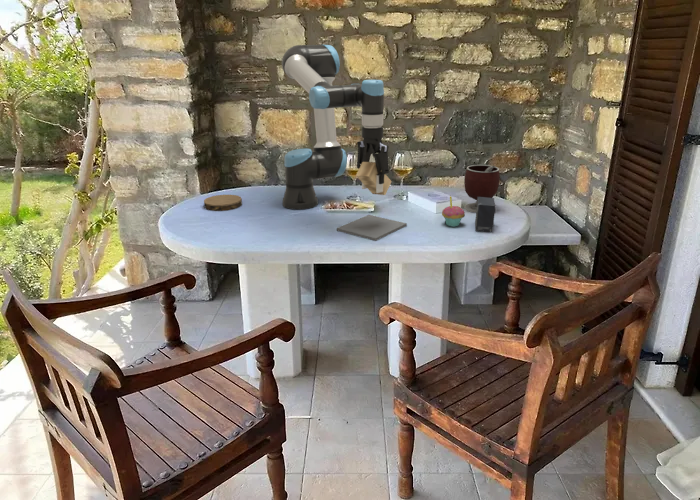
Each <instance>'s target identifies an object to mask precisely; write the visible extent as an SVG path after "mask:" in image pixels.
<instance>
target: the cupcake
mask: <svg viewBox="0 0 700 500" xmlns="http://www.w3.org/2000/svg"><path fill="white" fill-rule="evenodd" d="M441 212H442V213H441V216H442V217H443V218H444V220H445V225H446V226H447V227H458V226H459V225H460V223H461V221H462V219H463V218H464V217H465V215H466V212H465V209H463V208H462V207H460V206H457V205H453V200H452V196H451V195H449V206H446V207H444V208H443V209H442V211H441Z"/></svg>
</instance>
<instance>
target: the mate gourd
mask: <svg viewBox="0 0 700 500" xmlns="http://www.w3.org/2000/svg"><path fill="white" fill-rule="evenodd" d="M500 180H501V179H500V167H497V166H495V165H488V164H473V165H469V166H467V167H466V170H465V175H464V182H463V183H464V191H465V193H466V194H467V196H468V197H469V198H471V199H473V200H476V201H475V202H472V203H467V204H465V205H464V211H467V212H470V213H475V214H476V210H477V199H478V197H487V198H494V197H495V195H496V194H497V192H498V190H499V186H500Z"/></svg>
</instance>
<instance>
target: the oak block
mask: <svg viewBox="0 0 700 500" xmlns="http://www.w3.org/2000/svg"><path fill="white" fill-rule="evenodd" d="M360 165H361V166H360V168H358V171H357V173H356V174H355V177H356V178H357V179H358V180H359V181H360V182H361V184H362V183H363V184H364V185H365V186H366V187H367V188H366V189H367V190H369V192H370V193H371V194H372V195H379V196H386V195H387V193H388V191H389V188H390V186H391V184H392V180H391V179H390V177H389V176H387V174H385V175H384V183H383V192H380V193H376V175H377V174H378V172H377V167H376V163H375V161H369V162H362V164H360Z"/></svg>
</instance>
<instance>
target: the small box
mask: <svg viewBox="0 0 700 500" xmlns="http://www.w3.org/2000/svg"><path fill="white" fill-rule="evenodd" d="M476 201H477V210H476V213H475V221H474V229H475V232H482V233H483V232H484V233H492V232H493V229H494V224H495V223H494V222H495V213H496V204H495V203H496V201H495V197H492V198H487V197H478V199H477V200H476Z"/></svg>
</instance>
